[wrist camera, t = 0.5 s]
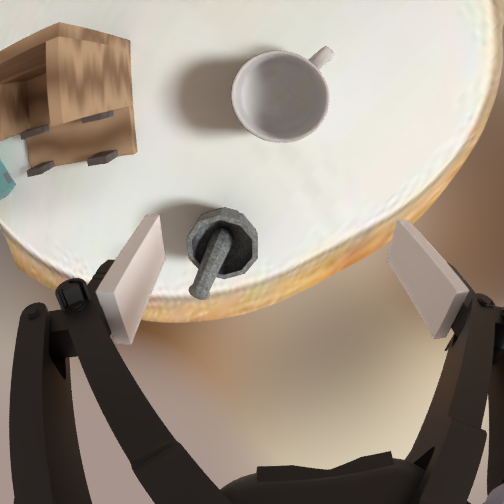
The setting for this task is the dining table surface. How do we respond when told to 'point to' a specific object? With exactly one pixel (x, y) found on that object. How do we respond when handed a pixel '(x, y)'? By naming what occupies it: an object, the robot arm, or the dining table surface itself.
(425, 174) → the dining table surface
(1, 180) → the door
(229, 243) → the mortar and pestle
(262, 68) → the teacup
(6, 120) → the cabinet
